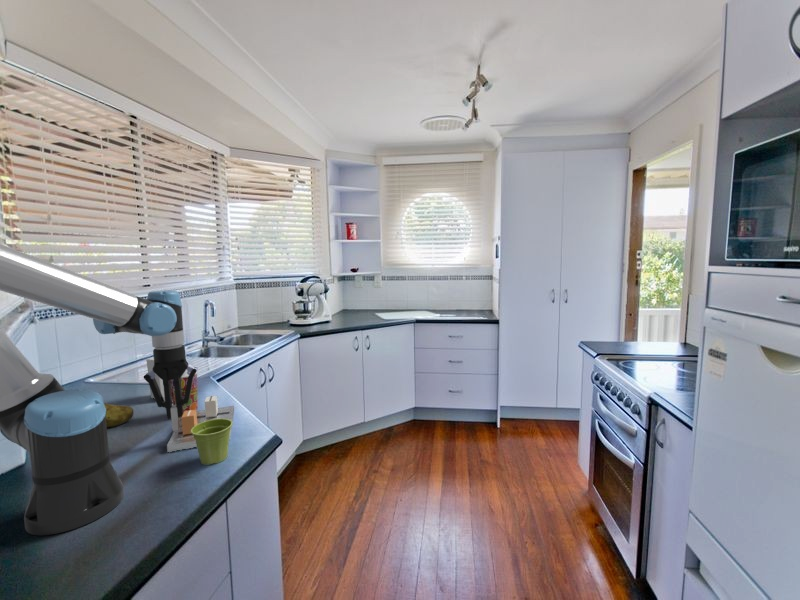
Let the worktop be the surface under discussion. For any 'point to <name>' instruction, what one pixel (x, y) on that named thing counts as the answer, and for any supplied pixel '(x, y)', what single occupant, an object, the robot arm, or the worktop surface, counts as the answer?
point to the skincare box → (159, 381)
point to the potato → (117, 414)
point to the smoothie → (193, 396)
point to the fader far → (211, 406)
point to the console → (188, 440)
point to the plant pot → (212, 440)
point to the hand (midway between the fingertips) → (176, 428)
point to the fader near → (188, 421)
